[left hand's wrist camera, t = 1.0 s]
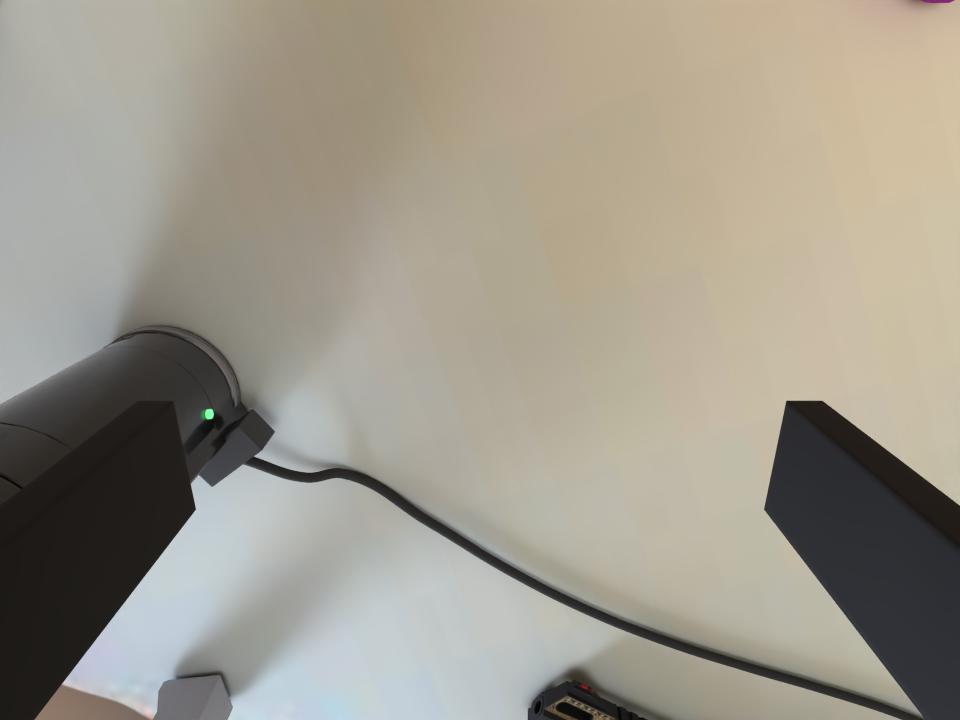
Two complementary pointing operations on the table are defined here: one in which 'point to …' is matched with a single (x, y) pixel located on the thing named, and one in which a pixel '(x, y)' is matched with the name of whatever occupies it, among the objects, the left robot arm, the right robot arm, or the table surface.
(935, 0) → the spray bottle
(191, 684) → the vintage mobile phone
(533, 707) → the decorative firearm
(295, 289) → the table surface
